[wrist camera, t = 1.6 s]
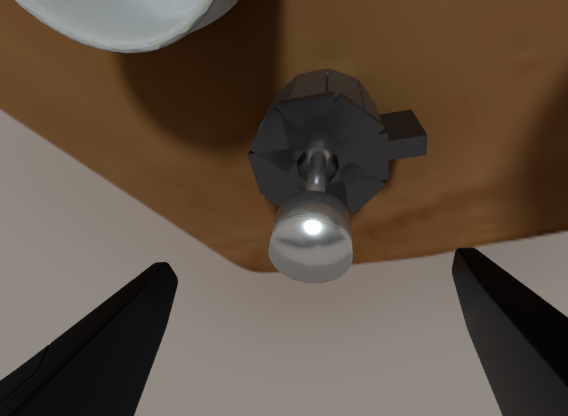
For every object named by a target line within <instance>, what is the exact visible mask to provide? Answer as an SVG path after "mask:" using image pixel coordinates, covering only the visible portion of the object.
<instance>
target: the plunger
mask: <svg viewBox="0 0 568 416" xmlns="http://www.w3.org/2000/svg"><path fill="white" fill-rule="evenodd" d="M297 161H298V165H299V169H300V172H301V173H302V174H304V175H306V176H307V177H308V179H307V187H306V191H301V192H298V193H295V194H293V195H291V196H289V197H288V198H287V199H285V200H284V201H283V203H282V204H281V205H280V207H279V209H278V213H277V217H276V221H275V225H274V229H273V233H272V237H271V241H270V245H269V257H270V260H271V262H272V264H273V265H274V266H275V267H276V269H277V270H279V271H280V272H281V273H282V274H284V275H286V276H287V277H289V278H291V279H294V280H297V281H301V282H306V283H322V282H327V281H331V280H334V279H336V278H338V277H340V276H341V275H343V274H344V273H345V272H346V271H347V270H348V269H349V267H350V266H351V263H352V259H353V251H352V238H351V224H350V215H349V212H348V209H347V208H346V206H345V205H344V203H343V202H342V201H341V200H339V199H338V198H337V197H335V196H333V195H331V194H329V193H326V192H325V183H326V179H327V178H330V177H331V176H332V174H333V173H334V172H335V171H336V170H337V169H338V168H339V165H338V157H337V156H336V155H335V154H333V153H332V152H330V151H329V150H327V149H326V148H324V147H319V148H312V149H306V150H305V151H304V152H303V154H302V155H301V156H300V157H299V159H298V160H297Z"/></svg>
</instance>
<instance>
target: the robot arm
mask: <svg viewBox="0 0 568 416" xmlns="http://www.w3.org/2000/svg"><path fill="white" fill-rule="evenodd" d="M452 275H453V279H454V283H455V286H456V290H457V294H458V297H459V301H460V305H461V308H462V312H463V315H464V319H465V322H466V326H467V329H468V331H469V334H470V337H471V339H472V342H473V344H474V347H475V349H476V351H477V354H478V356H479V358H480V361H481V364H482V366H483V369H484V371H485V373H486V376H487V378H488V381H489V383H490V386H491V388H492V391H493V393H494V396H495V398H496V400H497V403H498V405H499V408H500V410H501V413H502V415H503V416H568V317H566V316H565V315H564V314H562V313H561V312H560V311H558V310H557V309H556V308H554V307H553V306H552V305H550V304H549V303H548V302H546V301H545V300H544V299H542V298H541V297H540V296H538V295H537V294H536V293H534V292H533V291H532V290H530V289H529V288H528V287H526V286H525V285H524V284H522V283H521V282H519V281H518V280H517V279H515V278H514V277H513V276H512V275H510V274H509V273H508V272H506V271H505V270H503V269H502V268H501V267H499V266H498V265H497V264H495V263H494V262H493V261H491V260H490V259H489V258H487V257H486V256H485V255H483V254H482V253H481V252H479V251H478V250H477V249H475V248H472V247H470V248H458V249H456V251H455V256H454V261H453V266H452ZM177 285H178V278H177V276H176V274H175V273H174V271H173V270H172V268H171V267H170V265H169V264H168V263H166V262H157V263H154V264H153V265H151V266H150V267H149V268H147V269H146V270H145V271H144V272H142V273H141V274H140V275H138V276H137V277H136V278H134V279H133V280H132V281H131V282H129V283H128V284H127V285H125V286H124V287H123V288H121V289H120V290H119V291H118V292H116V293H115V294H114V295H112V296H111V297H110V298H109V299H107V300H106V301H105V302H103V303H102V304H101V305H100V306H98V307H97V308H96V309H94V310H93V311H92V312H90V313H89V314H88V315H86V316H85V317H84V318H83V319H81V320H80V321H79V322H77V323H76V324H75V325H73V326H72V327H71V328H70V329H68V330H67V331H66V332H64V333H63V334H62V335H61V336H59V337H58V338H57V339H55V340H54V341H53V342H52V343H51V344H50V345H47V346H46V347H45V348H44V349H42V350H41V351H40V352H38V353H37V354H36V355H35V356H33V357H32V358H31V359H29V360H28V361H27V362H25V363H24V364H23V365H21V366H20V367H19V368H17V369H16V370H15V371H13V372H12V373H10V374H9V375H8V376H6V377H5V378H3V379H2V380H1V381H0V416H134V414H135V411H136V408H137V406H138V403H139V400H140V398H141V395H142V392H143V390H144V387H145V384H146V381H147V379H148V376H149V373H150V370H151V368H152V365H153V362H154V360H155V357H156V354H157V351H158V349H159V346H160V343H161V341H162V337H163V335H164V332H165V329H166V326H167V323H168V320H169V316H170V312H171V308H172V304H173V300H174V297H175V292H176V289H177Z"/></svg>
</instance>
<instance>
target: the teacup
mask: <svg viewBox="0 0 568 416" xmlns="http://www.w3.org/2000/svg"><path fill="white" fill-rule="evenodd" d="M15 1H16V2H17V3H18V4H19V5H21V6H22V7H23V8H24V9H26V10H27V11H28V12H30V13H31V14H32V15H34V16H35V17H36V18H37V19H38V20H40V21H41V22H43V23H45V24H46V25H48V26H49V27H51V28H52V29H54V30H56V31H58V32H59V33H61V34H63V35H65V36H67V37H69V38H71V39H73V40H74V41H76V42H79V43H82V44H85V45H88V46H90V47H94V48H98V49H101V50H105V51H112V52H122V53H140V52H148V51H153V50H157V49H161V48H164V47H166V46H168V45H170V44H172V43H174V42H176V41H178V40H180V39H181V38H183V37H184V36H186V35H187V34H189V33H191V32H194V31H196V30H198V29H201V28H203V27H205V26H207V25H209V24H210V23H212V22H214V21H215V20H217V19H218V18H220V17H221V16H223V15H224V14H225V13H226V12H228V11H229V10H230V9H231V8H232V7H233V6H234V5H235V4H236V3H237V2H238V1H239V0H15Z"/></svg>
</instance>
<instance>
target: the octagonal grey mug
mask: <svg viewBox="0 0 568 416" xmlns="http://www.w3.org/2000/svg"><path fill="white" fill-rule="evenodd" d="M319 147H324V148H326V149H327V150H329V151H330V152H332V153H333V154H335V155H336V156H337V157H338V165H339V168H338V169H337V170H336V171H335V172H334V173H333V174H332V176H331V177H330V178H327V179H326V183H325V192H326V193H329V194H331V195H333V196H335V197H337V198H338V199H339V200H341V201H342V202H343V203H344V205H345V206H346V208H347V209H348V212H349V211H350V212H351V213H353V214H355V213H356V212H357V211H358V210H359V209H360V208H362V207H363V206H364V205H365V204H366V203H367V202H368V201H369V200H370V199H371V198H372V197H373V196H374V195H376V194H377V193H378V192H379V191H380V190H381V189H382V188H383V187H384V186H385V185H386V181H385V179H389V161H388V160H393V159H400V158H408V157H415V156H423V155H426V150H427V134H426V132H425V131H424V129H423V127H422V126H421V124H420V123H419V121H418V119H417V118H416V116H415V115H414V113H413V112H412V110H406V111H400V112H394V113H388V114H382V115H379V114H378V111H377V108H376V105H375V102H374V101H373V100H372V98H371V97H370V96H369V94H368V93H367V91H366V90H365V89H364V87H363V86H362V85H361V83H360V82H359V80H358V81H357V79H356V78H353V77H350V76H348V75H345V74H342V73H340V72H337V71H334V70H331V69H329V70H327V69H322V70H318V71H313V72H308V73H304V74H299V75H298V76H295V77H294V78H293V79H292V80H291V81H290V82H289V83H288V84H287V85H286V86H285V87H284V88H283V89H282V90H281V91H280V92H279V93H278V94H276V96H275V97H274V99H273V101H272V103H271V105H270V107H269V109H268V111H267V112H266V114H265V116H264V118H263V120H262V122H261V124H260V126H259V129H258V133H257V135H256V136H255V138H254V140H253V141H252V143H251V145H250V147H249V148H248V149H249V150H251V151H249V153H248V157H249V160H250V163H251V166H252V169H253V172H254V175H255V178H256V181H257V184H258V187H259V190H260V193H261V194H266V195H265V199H266V200H268V201H270V202H272V203H273V204H275V205H277V206H279V207H280V205H281V204H282V203H283V201H284V200H285V199H287V198H288V197H289V196H291V195H293V194H295V193H298V192H301V191H306V187H307V179H308V177H307V176H306V175H304V174H302V173H301V172H300V169H299V165H298V161H297V160H298V159H299V157H300V156H301V155H302V154H303V152H304V151H305V150H306V149H312V148H319Z"/></svg>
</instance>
